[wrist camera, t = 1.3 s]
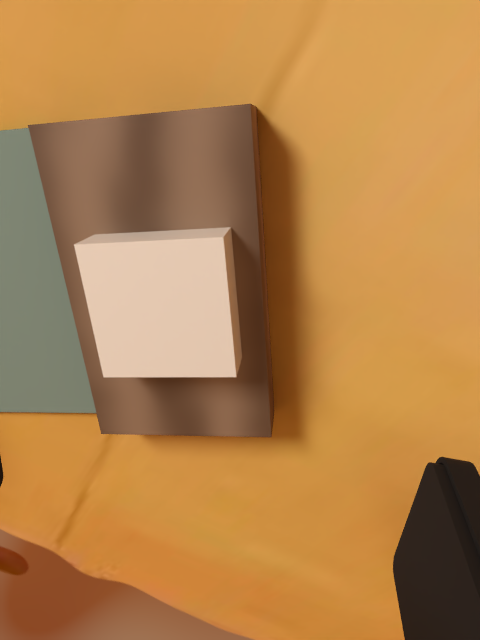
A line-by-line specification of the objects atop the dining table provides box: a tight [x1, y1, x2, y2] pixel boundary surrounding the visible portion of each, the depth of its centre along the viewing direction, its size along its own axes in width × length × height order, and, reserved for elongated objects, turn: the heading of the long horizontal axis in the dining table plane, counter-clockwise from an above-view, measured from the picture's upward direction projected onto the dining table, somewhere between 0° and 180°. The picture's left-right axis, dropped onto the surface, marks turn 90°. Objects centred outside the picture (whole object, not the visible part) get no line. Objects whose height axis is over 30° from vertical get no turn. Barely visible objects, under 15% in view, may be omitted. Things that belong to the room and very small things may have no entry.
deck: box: [28, 104, 274, 437], centre depth 28 cm, size 12×20×3 cm, turn 4°
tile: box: [74, 227, 242, 377], centre depth 25 cm, size 8×8×2 cm
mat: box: [0, 128, 96, 413], centre depth 31 cm, size 13×20×1 cm, turn 4°
